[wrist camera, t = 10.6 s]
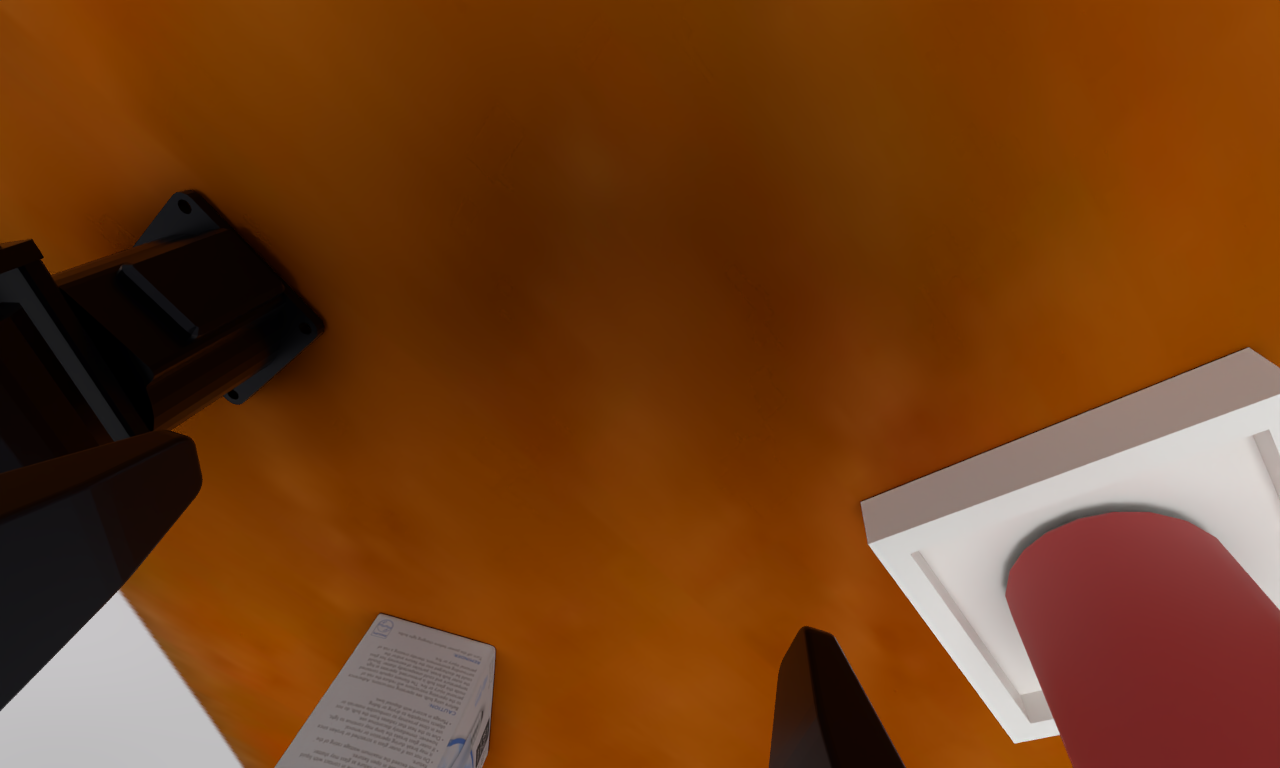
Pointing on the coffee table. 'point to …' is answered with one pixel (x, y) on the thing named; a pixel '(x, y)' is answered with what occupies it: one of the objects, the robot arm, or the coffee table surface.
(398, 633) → the light bulb box
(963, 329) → the coffee table surface
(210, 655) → the coffee table surface
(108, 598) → the robot arm
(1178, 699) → the beer can
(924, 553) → the dock tray
